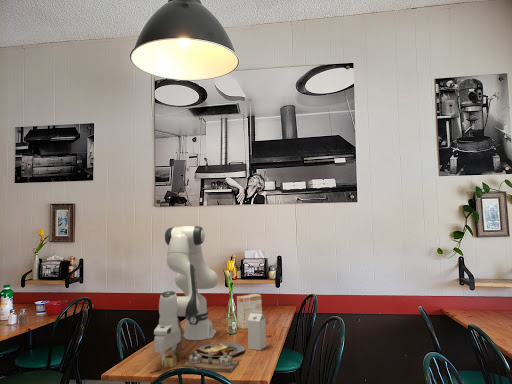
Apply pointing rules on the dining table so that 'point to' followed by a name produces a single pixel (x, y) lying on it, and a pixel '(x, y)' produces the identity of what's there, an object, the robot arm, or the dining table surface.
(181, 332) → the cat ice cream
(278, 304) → the dining table surface
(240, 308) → the coffeecake box
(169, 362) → the brass gear
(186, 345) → the dining table surface
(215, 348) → the food plate
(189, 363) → the gear board
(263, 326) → the milk carton
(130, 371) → the dining table surface
